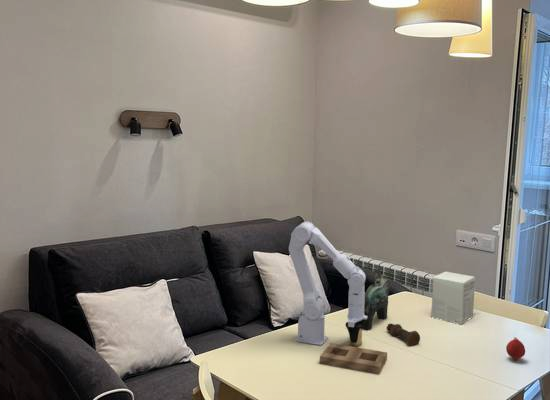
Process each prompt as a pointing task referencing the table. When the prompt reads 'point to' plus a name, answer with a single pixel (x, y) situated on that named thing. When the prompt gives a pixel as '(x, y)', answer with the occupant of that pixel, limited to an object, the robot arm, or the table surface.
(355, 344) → the brass peg
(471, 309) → the supplement box
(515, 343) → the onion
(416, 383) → the table surface
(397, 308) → the table surface
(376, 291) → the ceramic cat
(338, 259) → the robot arm
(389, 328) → the bolt
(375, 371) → the frame
